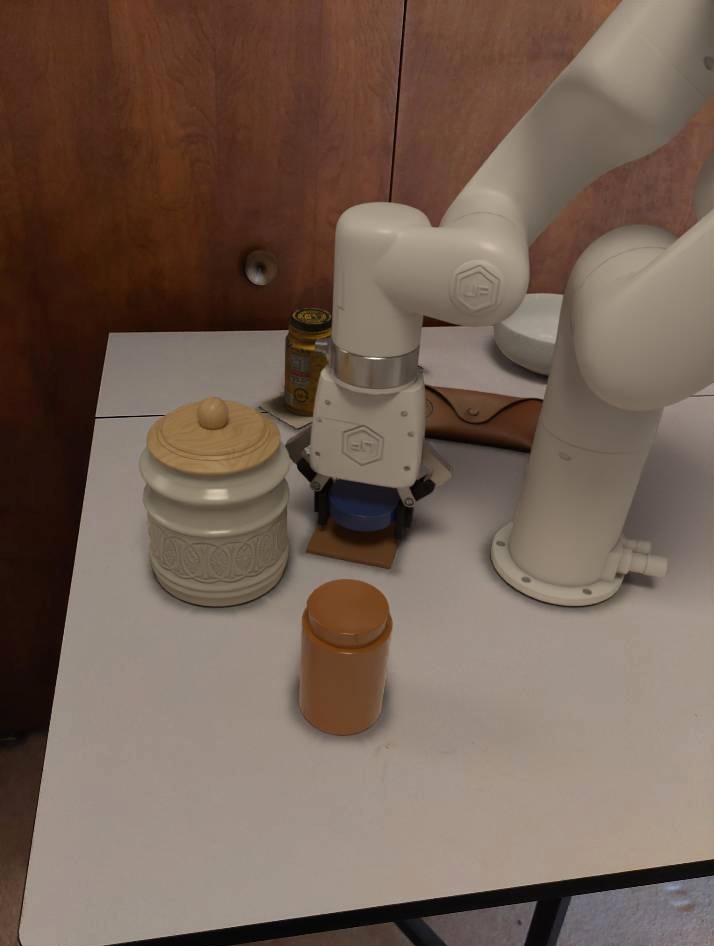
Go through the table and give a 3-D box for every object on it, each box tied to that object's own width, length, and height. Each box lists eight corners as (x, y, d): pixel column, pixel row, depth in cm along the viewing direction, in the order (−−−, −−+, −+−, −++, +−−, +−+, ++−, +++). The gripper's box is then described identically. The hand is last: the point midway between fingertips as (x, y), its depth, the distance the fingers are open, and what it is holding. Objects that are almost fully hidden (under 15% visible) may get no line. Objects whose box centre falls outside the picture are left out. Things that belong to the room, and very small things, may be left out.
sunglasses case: (393, 434, 95) (401, 377, 95) (396, 434, 102) (403, 382, 101) (547, 453, 93) (557, 396, 92) (539, 453, 100) (548, 399, 99)
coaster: (405, 519, 83) (406, 516, 83) (390, 569, 77) (390, 566, 76) (327, 504, 85) (327, 501, 84) (306, 552, 78) (306, 549, 78)
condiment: (346, 407, 101) (352, 317, 94) (297, 430, 97) (299, 336, 89) (306, 386, 105) (309, 298, 98) (257, 407, 101) (256, 316, 93)
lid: (327, 531, 76) (327, 516, 75) (326, 487, 81) (326, 472, 80) (402, 531, 76) (404, 517, 75) (396, 487, 81) (398, 473, 80)
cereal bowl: (466, 344, 117) (474, 297, 112) (566, 333, 121) (577, 287, 117) (525, 399, 104) (536, 348, 100) (633, 384, 108) (649, 335, 104)
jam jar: (379, 672, 66) (391, 576, 60) (384, 736, 61) (398, 639, 55) (299, 670, 66) (303, 573, 60) (298, 734, 61) (301, 637, 55)
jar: (160, 621, 70) (140, 449, 59) (144, 532, 80) (124, 371, 69) (303, 597, 73) (309, 429, 62) (270, 515, 83) (271, 357, 72)
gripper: (264, 364, 68) (267, 531, 79) (470, 393, 64) (443, 563, 75) (289, 329, 73) (289, 489, 84) (480, 354, 70) (454, 518, 81)
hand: (362, 523), depth 80 cm, fingers closed on lid, 7 cm apart
